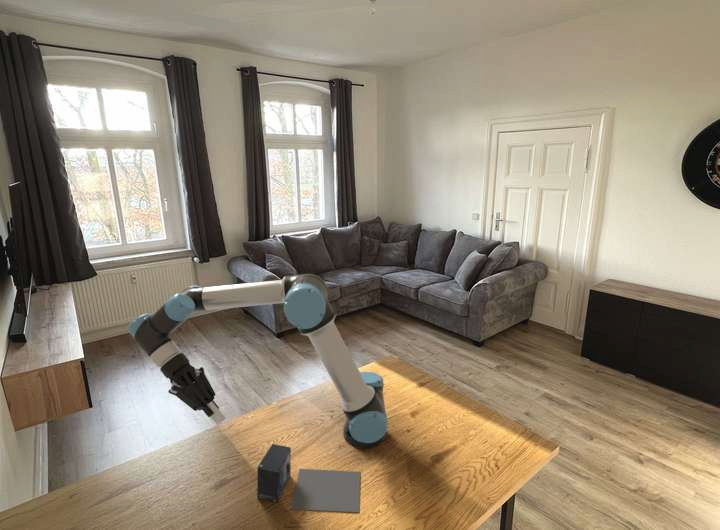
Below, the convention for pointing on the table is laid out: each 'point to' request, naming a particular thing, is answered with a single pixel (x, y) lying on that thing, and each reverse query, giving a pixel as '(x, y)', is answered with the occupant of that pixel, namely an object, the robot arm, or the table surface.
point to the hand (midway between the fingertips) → (221, 421)
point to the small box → (273, 473)
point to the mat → (327, 491)
